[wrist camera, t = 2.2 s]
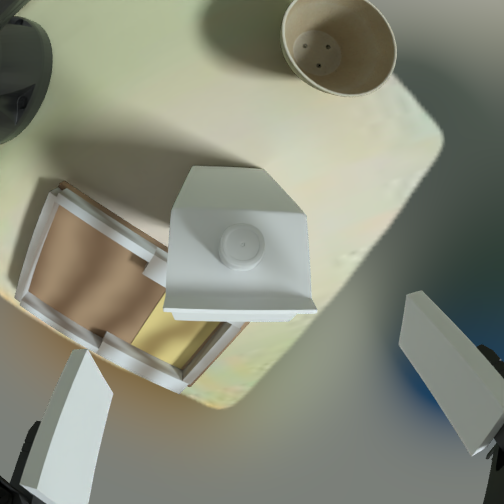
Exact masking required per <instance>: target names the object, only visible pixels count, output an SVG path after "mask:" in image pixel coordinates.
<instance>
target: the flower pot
mask: <svg viewBox="0 0 504 504" xmlns="http://www.w3.org/2000/svg"><path fill="white" fill-rule="evenodd" d="M280 42H281V48H282V52H283V55H284V58H285V60H286V62H287V63H288V65H289V67H290V68H291V69H292V71H293V72H294V73H295V74H296V75H297V76H298V77H299V78H300V79H301V80H303V81H304V82H305V83H307V84H308V85H310V86H312V87H314V88H316V89H318V90H320V91H323V92H325V93H328V94H332V95H337V96H343V97H359V96H364V95H367V94H370V93H372V92H374V91H376V90H377V89H379V88H380V87H382V86H383V85H384V84H385V83H386V82H387V80H388V79H389V77H390V76H391V74H392V72H393V70H394V67H395V63H396V56H397V47H396V41H395V38H394V34H393V32H392V29H391V27H390V25H389V23H388V21H387V20H386V19H385V17H384V16H383V14H382V13H381V12H380V11H379V10H378V9H377V8H376V7H375V6H374V5H373V4H372V3H371V2H369V1H368V0H293V1H292V3H291V4H290V5H289V6H288V8H287V10H286V12H285V14H284V17H283V20H282V24H281V30H280ZM327 45H328V47H326V46H327ZM303 46H305V47H306V48H304V47H303ZM319 64H320V65H321V66H320V67H319Z"/></svg>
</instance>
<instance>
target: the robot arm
mask: <svg viewBox="0 0 504 504" xmlns="http://www.w3.org/2000/svg"><path fill="white" fill-rule="evenodd" d="M29 1H30V0H0V144H2V143H5V142H7V141H9V140H11V139H13V138H14V137H16V136H17V135H18V134H20V133H21V132H22V131H23V130H24V129H25V128H26V127H27V126H28V124H29V123H30V122H31V121H32V119H33V118H34V116H35V115H36V113H37V111H38V110H39V108H40V106H41V104H42V102H43V100H44V97H45V95H46V92H47V89H48V86H49V82H50V77H51V72H52V48H51V43H50V40H49V37H48V35H47V33H46V32H45V30H44V29H43V28H42V27H41V26H40V25H39V24H37V23H36V22H34V21H31V20H29V19H26V18H23V17H19V16H14V15H15V14H16V13H17V12H18V11H19V10H20V9H21V8H22V7H23V6H24V5H26V4H27V3H28V2H29ZM399 346H400V348H401V349H402V350H403V352H404V353H405V355H406V356H407V358H408V359H409V360H410V362H411V363H412V365H413V366H414V368H415V369H416V371H417V372H418V374H419V375H420V377H421V378H422V380H423V381H424V382H425V384H426V386H427V387H428V389H429V390H430V392H431V393H432V395H433V396H434V398H435V399H436V401H437V402H438V404H439V405H440V407H441V408H442V410H443V411H444V413H445V415H446V416H447V418H448V419H449V421H450V423H451V424H452V426H453V427H454V429H455V431H456V432H457V434H458V435H459V437H460V439H461V440H462V442H463V444H464V445H465V447H466V449H467V450H468V452H469V454H470V455H471V456H473V455H475V454H476V453H478V452H480V451H481V450H483V449H484V448H486V447H487V446H488V445H489V444H490V442H491V441H492V440H493V438H494V439H495V440H496V442H497V443H496V444H495V446H494V447H493V448H492V449H491V450H490V452H489V453H488V454H487V457H486V459H489V458H490V456H491V455H492V454H493V458H492V465H491V470H490V475H489V480H488V485H487V489H486V494H485V498H484V502H483V504H504V362H503V361H501V359H500V358H499V357H498V356H497V354H496V353H495V352H494V351H493V350H491V349H489V348H488V347H486V346H484V345H479V346H477V347H475V345H474V344H473V343H472V342H471V341H470V340H469V339H468V338H467V337H466V336H465V335H464V334H463V332H462V331H461V330H460V329H459V328H458V327H457V326H456V325H455V324H454V323H453V322H452V321H451V320H450V319H449V318H448V317H447V316H446V315H445V314H444V313H443V312H442V311H441V309H439V308H438V307H437V305H436V304H435V303H433V301H431V299H430V298H429V297H428V296H426V294H424V293H423V292H422V291H417V292H414V293H410V294H407V296H406V303H405V309H404V316H403V322H402V328H401V334H400V340H399ZM112 396H113V392H112V391H111V389H110V387H109V386H108V384H107V382H106V381H105V379H104V378H103V376H102V374H101V372H100V371H99V369H98V367H97V365H96V363H95V362H94V360H93V358H92V357H91V354H90V352H89V351H88V349H79V350H73V351H72V353H71V355H70V357H69V359H68V361H67V363H66V366H65V368H64V370H63V372H62V374H61V376H60V379H59V381H58V383H57V385H56V387H55V390H54V392H53V394H52V397H51V399H50V401H49V404H48V406H47V409H46V411H45V413H44V416H43V418H42V421H36V422H35V424H34V425H33V426H32V427H31V428H30V430H29V431H28V434H27V437H26V439H25V443H24V444H23V447H22V452H20V455H19V458H18V461H17V464H16V467H15V470H14V473H13V476H12V479H11V481H10V483H8V482H7V481H6V480H5V479H3V478H2V477H1V476H0V504H88V503H89V497H90V491H91V486H92V480H93V476H94V471H95V466H96V461H97V457H98V452H99V448H100V443H101V439H102V435H103V431H104V426H105V423H106V419H107V415H108V411H109V407H110V404H111V399H112Z"/></svg>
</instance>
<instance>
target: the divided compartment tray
mask: <svg viewBox="0 0 504 504" xmlns="http://www.w3.org/2000/svg"><path fill="white" fill-rule="evenodd" d="M167 258H168V247H166V246H164V245H163V244H161V243H160V242H158V241H156V240H155V239H153V238H152V237H150V236H149V235H147V234H145V233H144V232H142V231H141V230H139V229H137V228H136V227H134V226H133V225H131V224H130V223H128V222H127V221H125V220H123V219H122V218H120V217H119V216H117V215H116V214H114V213H113V212H111V211H110V210H108V209H106V208H105V207H103V206H102V205H100V204H99V203H97V202H96V201H94V200H93V199H91V198H90V197H88V196H87V195H85V194H84V193H82V192H81V191H79V190H78V189H76V188H75V187H73V186H72V185H70V184H69V183H67V182H66V181H63V182H61V183H60V184H59V186H58V188H56V189H54V190H52V191H50V192H49V194H48V196H47V199H46V201H45V204H44V206H43V209H42V211H41V214H40V216H39V219H38V222H37V225H36V227H35V230H34V233H33V236H32V239H31V242H30V245H29V248H28V251H27V254H26V257H25V261H24V264H23V267H22V271H21V274H20V278H19V282H18V286H17V289H16V293H15V299H16V300H18V301H19V302H20V306H22V307H23V308H24V309H26V310H27V311H29V312H30V313H32V314H33V315H35V316H36V317H38V318H39V319H41V320H42V321H44V322H45V323H47V324H48V325H50V326H51V327H53V328H54V329H56V330H57V331H59V332H61V333H62V334H64V335H66V336H67V337H69V338H70V339H72V340H74V341H75V342H77V343H79V344H81V345H82V346H84V347H86V348H87V349H89V350H91V351H93V352H95V353H96V354H98V355H100V356H102V357H104V358H105V359H107V360H109V361H111V362H113V363H115V364H117V365H119V366H121V367H123V368H125V369H127V370H129V371H131V372H133V373H135V374H137V375H139V376H141V377H143V378H145V379H147V380H149V381H151V382H154V383H156V384H158V385H160V386H162V387H165V388H167V389H169V390H171V391H174V392H176V393H178V394H180V393H181V392H182V391H183V390H184V389H185V388H186V387H187V386H188V387H191V386H192V385H193V384H194V383H195V381H196V380H197V379H198V378H199V377H200V376H201V375H202V374H203V373H204V372H205V371H206V370H207V369H208V368H209V367H210V365H211V364H212V363H213V362H214V361H215V360H216V359H217V358H218V357H219V356H220V355H221V354H222V352H223V351H224V350H225V349H226V348H227V347H228V346H229V345H230V344H231V343H232V342H233V340H234V339H235V338H236V337H237V336H238V335H239V334H240V333H241V332H242V330H243V329H244V328H245V327H246V326H247V325H248V324H249V323H250V322H220V321H183V320H175V319H174V317H173V315H172V312H164V311H163V305H164V300H165V295H166V274H167Z"/></svg>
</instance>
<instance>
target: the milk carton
mask: <svg viewBox="0 0 504 504" xmlns="http://www.w3.org/2000/svg"><path fill="white" fill-rule="evenodd" d="M163 311H164V312H172V315H173V317H174V319H175V320H183V321H220V322H284V321H290V320H291V319H292V318H293V317H294V316H295V315H296V314H311V313H317V308H316V306H315V304H314V302H313V300H312V294H311V274H310V257H309V241H308V227H307V216H306V214H305V213H304V212H303V211H302V210H301V208H300V207H299V206H298V205H297V204H296V203H295V202H294V201H293V200H292V198H291V197H290V196H289V195H288V194H287V193H286V192H285V191H284V190H283V189H282V188H281V187H280V185H279V184H278V183H277V182H276V181H275V180H274V179H273V178H272V177H271V176H270V175H269V174H268V173H267V172H266V171H265V170H264V169H256V168H240V167H220V166H192V168H191V170H190V172H189V174H188V176H187V178H186V180H185V182H184V184H183V186H182V188H181V190H180V192H179V194H178V197H177V199H176V201H175V203H174V205H173V208H172V210H171V219H170V230H169V243H168V258H167V274H166V295H165V300H164V305H163Z"/></svg>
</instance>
